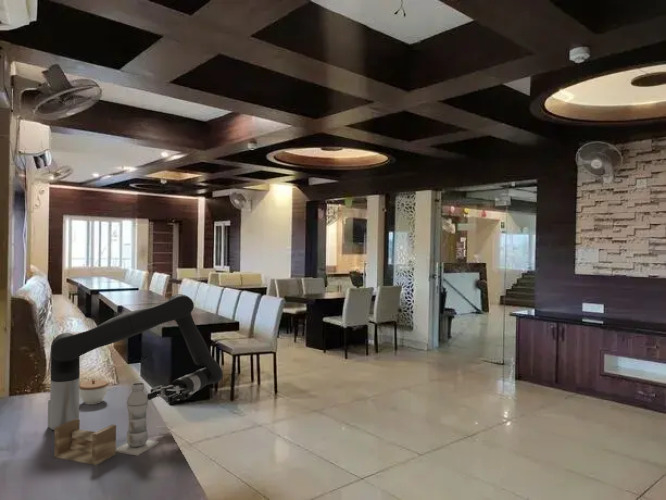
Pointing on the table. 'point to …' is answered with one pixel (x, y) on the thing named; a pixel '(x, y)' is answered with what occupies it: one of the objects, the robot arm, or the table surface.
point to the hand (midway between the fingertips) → (158, 398)
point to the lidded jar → (93, 391)
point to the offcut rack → (84, 443)
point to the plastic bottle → (137, 416)
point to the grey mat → (135, 448)
